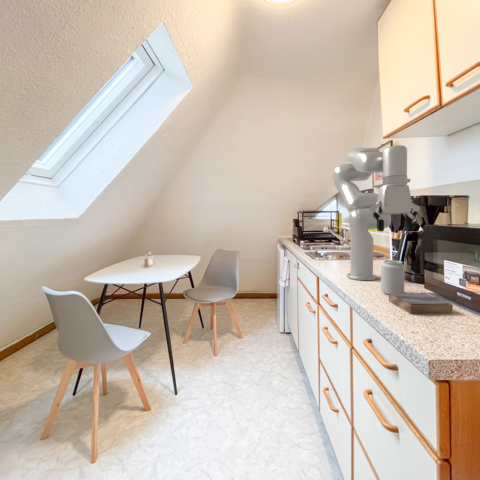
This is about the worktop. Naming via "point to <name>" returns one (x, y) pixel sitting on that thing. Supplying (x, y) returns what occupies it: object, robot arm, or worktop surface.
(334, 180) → the robot arm
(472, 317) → the worktop surface
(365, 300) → the worktop surface
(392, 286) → the can
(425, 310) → the plinth
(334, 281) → the worktop surface
